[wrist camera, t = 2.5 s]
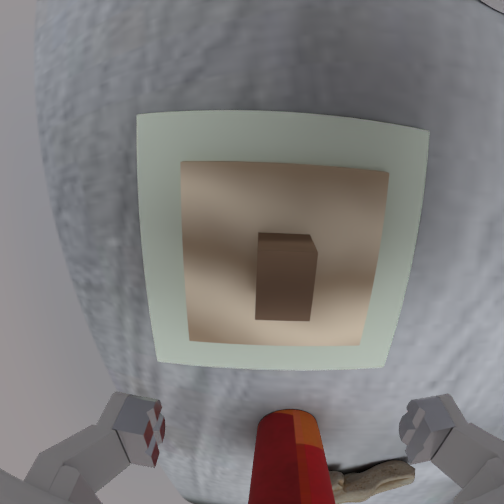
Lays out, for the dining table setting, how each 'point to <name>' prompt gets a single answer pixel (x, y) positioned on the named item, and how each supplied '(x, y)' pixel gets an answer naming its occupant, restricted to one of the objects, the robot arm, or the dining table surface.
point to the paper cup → (289, 461)
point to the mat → (281, 151)
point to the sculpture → (370, 481)
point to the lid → (279, 251)
